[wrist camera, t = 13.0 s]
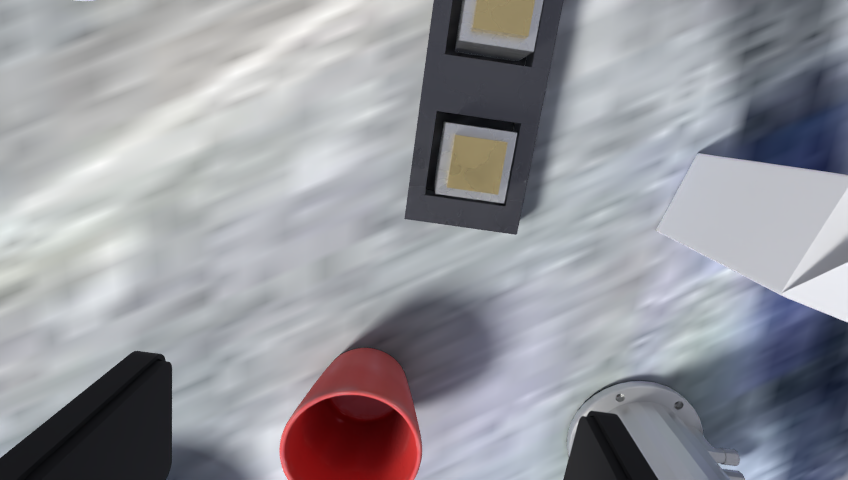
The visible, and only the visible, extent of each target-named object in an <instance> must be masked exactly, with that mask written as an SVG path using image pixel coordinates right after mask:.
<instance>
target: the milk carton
mask: <svg viewBox="0 0 848 480" xmlns="http://www.w3.org/2000/svg"><path fill="white" fill-rule="evenodd" d="M656 231H657V232H659V233H661V234H663V235H665V236H667V237H669V238H671V239H673V240H675V241H677V242H679V243H681V244H682V245H684V246H686V247H688V248H690V249H692V250H694V251H696V252H698V253H700V254H702V255H704V256H706V257H708V258H710V259H712V260H714V261H716V262H717V263H719V264H721V265H723V266H725V267H727V268H729V269H731V270H733V271H735V272H737V273H739V274H741V275H743V276H745V277H747V278H749V279H751V280H752V281H754V282H756V283H758V284H760V285H762V286H764V287H766V288H768V289H770V290H772V291H774V292H776V293H778V294H780V295H782V296H784V297H786V298H788V299H791V300H793V301H796V302H798V303H801V304H803V305H806V306H808V307H811V308H813V309H816V310H818V311H821V312H823V313H825V314H828V315H830V316H833V317H835V318H838V319H840V320H843V321H845V322H848V175H845V174H838V173H832V172H825V171H818V170H811V169H804V168H797V167H790V166H783V165H777V164H770V163H763V162H756V161H749V160H742V159H735V158H728V157H721V156H714V155H708V154H701V153H698V154H697V155H696V157H695V159H694V161H693V163H692V164H691V166H690V168H689V170H688V172H687V174H686V175H685V177H684V179H683V181H682V183H681V185H680V187H679V188H678V190H677V192H676V194H675V196H674V198H673V199H672V201H671V203H670V205H669V207H668V209H667V211H666V212H665V214H664V216H663V218H662V220H661V222H660V223H659V225H658V227H657V229H656Z"/></svg>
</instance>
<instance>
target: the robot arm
mask: <svg viewBox="0 0 848 480" xmlns="http://www.w3.org/2000/svg"><path fill="white" fill-rule="evenodd" d="M567 450H568V455H569V460H568V464H567V468H566V472H565V475H564V479H563V480H745V478H744V476H743V474H742V473H741V472H739V471H735V470H727V469H722V468H721V467H720V466H719V465H718V464H717V463H721V464H724V465H732V466H738V464H739V462H740V458H739V454H738V452H737V451H736V450H733V449H726V448H713V446H712V445H710V443H709V442H708V441H707V440H706V439H705V438H704V436H703V427H702V424H701V420H700V418H699V416H698V414H697V412H696V411H695V409H694V408H693V407H692V406H691V404H690V403H689V402H688V401H687V400H686V399H685V398H684V397H683V396H682V395H680V394H679V393H678V392H677V391H675V390H673V389H671V388H669V387H668V386H664V385H661V384H658V383H654V382H647V381H631V382H625V383H621V384H616V385H614V386H611V387H609V388H606V389H604V390H602V391H601V392H599V393H597V394H595V395H594V396H593V397H591V398H590V399H589V400H588V401H587V402H585V403H584V404H583V406H582V407H581V408H580V409H579V410H578V412H577V413H576V415H575V416H574V418H573V420H572V422H571V424H570V427H569V431H568V435H567ZM171 463H172V365H171V363H170V362H166V361H165V357H164V356H163V355H162V354H156V353H149V352H141V351H134V352H132V353H131V354H129V355H128V356H127V357H126V358H124V359H123V360H122V361H121V362H120V363H118V364H117V365H116V366H115V367H113V368H112V369H111V370H110V371H108V372H107V373H106V374H105V375H103V376H102V377H101V378H100V379H98V380H97V381H96V382H95V383H93V384H92V385H91V386H90V387H88V388H87V389H86V390H85V391H83V392H82V393H81V394H80V395H78V396H77V397H76V398H75V399H73V400H72V401H71V402H70V403H68V404H67V405H66V406H65V407H63V408H62V409H61V410H60V411H58V412H57V413H56V414H55V415H53V416H52V417H51V418H50V419H48V420H47V421H46V422H45V423H43V424H42V425H41V426H40V427H38V428H37V429H36V430H35V431H33V432H32V433H31V434H30V435H29V436H27V437H26V438H25V439H24V440H22V441H21V442H20V443H19V444H17V445H16V446H15V447H14V448H12V449H11V450H10V451H9V452H7V453H6V454H5V455H4V456H2V457H1V458H0V480H166V478H167V476H168V474H169V471H170V468H171Z"/></svg>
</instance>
